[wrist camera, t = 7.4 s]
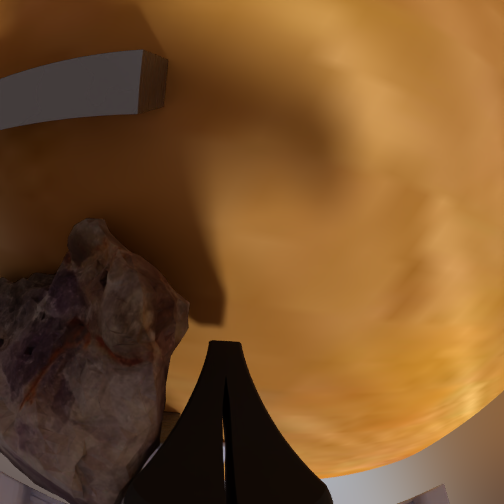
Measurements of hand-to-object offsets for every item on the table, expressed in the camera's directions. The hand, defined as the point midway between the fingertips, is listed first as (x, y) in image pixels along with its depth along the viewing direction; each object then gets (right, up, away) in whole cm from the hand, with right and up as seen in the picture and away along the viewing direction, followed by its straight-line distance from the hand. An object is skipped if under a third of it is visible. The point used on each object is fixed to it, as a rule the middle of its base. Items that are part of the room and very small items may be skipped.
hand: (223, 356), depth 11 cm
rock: (-7, +1, +1) cm, 7 cm away
